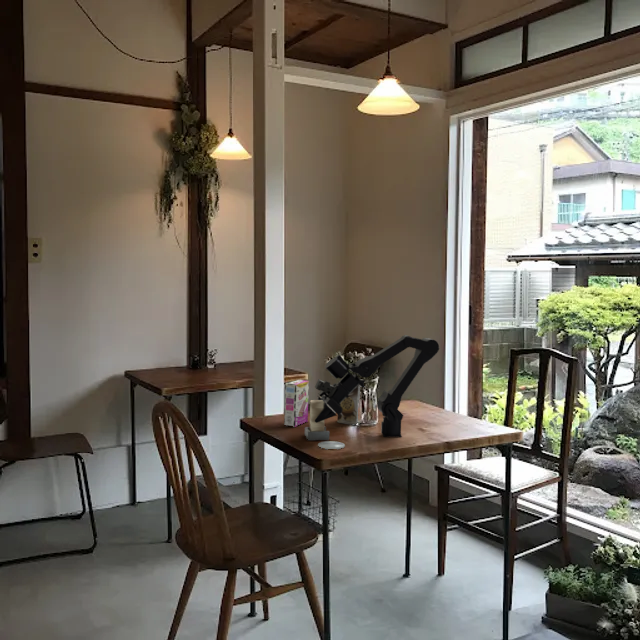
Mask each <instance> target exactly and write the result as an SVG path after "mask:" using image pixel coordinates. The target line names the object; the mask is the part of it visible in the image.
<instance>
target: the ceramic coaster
mask: <svg viewBox="0 0 640 640" xmlns="http://www.w3.org/2000/svg"><path fill="white" fill-rule="evenodd" d="M318 446H319V447H321V448H320V449H322V448H325V449H324V450H328V449H337V450H342V449H344V448H345V447H346V445H345V443H343V442H340V441H336V440H335V441H334V440H332V441H329V440H325V441H321V442H319V443H317V447H318ZM319 447H318V448H319ZM341 448H342V449H341Z"/></svg>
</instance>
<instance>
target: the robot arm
mask: <svg viewBox="0 0 640 640" xmlns="http://www.w3.org/2000/svg"><path fill="white" fill-rule="evenodd" d="M408 348H411V349H415V351H414V355H413V358H412V359H411V361H410V362H409V363H408V365H407V366H406V368H405V369H404V371H403V372H402V373H401V375H400V376H399V378H398V379H397V380H396V382H395V383H394V385H393V386H392V388H391V389H390V390H388V391H386V390H383V391H382V392H381V395H380V396H379V397H378V398H377V404H376V406H377V409H378V412H380V413H381V414H382V416H383V417H382V421H381V428H380V431H381V432H380V434H381V435H382V437H384V438H402V437H403V436H402V435H403V434H402V420H403V418H404V414H403V413H402V412H401V411H400V410H399V407H400V405H401V403H402V402H401V401H402V397H403V395H404V394H405V392H406V391H407V389H408V388H409V387H410V385H411V384H412V382H413V381H414V379H415V378H416V377H417V375H418V373H420V371H421V369H422V367H423V366H424V365H425V364H426V363H428V362H430V360H431V359H433V358H434V357H435V356H436V355H437V354H438V353H439V350H440V346H439V343H438V341H436V340H435V339H432V338H429V337H423V338H417V337H413V336H410V335H407V334H404V335H402V336H400V338H399V339H397V340H395V341H394V342H392V343H390V344H389V345H387V346H386V347H384V348H382V349H381V350H379V351H377V352H376V353H374V354H373V355H368V356H364V357H363V358H360V359H358V360H357V361H355V362H351V363H347V362H346V361H345V360H344V358H343V357H342V355H340V354H337V355H336V356H335V357H333V358H332V359H329V360H328V361H327V363H326V364H325V365H324V368H325V369H326V370H327V371H328V372H329V373H330V375H331V376H333V378H334V379H336V380H337V379H340V380H339V381H338V382H334V383H333V384H331V382H329V381H327V380H322V379H318V380H317V381H316V384H314V385H315V386H314V388H315V389H316V390H318V391H319V392H318V393H317V394H318V395H317V400H323V401H324V402H325V403H324V406H323V409H322V411H321V412H320V413H319V415H318V416H317V418H316V419H315V422H316V423H318V422H320V421H323V420H324V421H326V420H327V419H330V418H333V417H338V415H340V414H341V413H342V407H341V406H340V405H341V404H340V403H341V402H342V401H343V400H344V399H345V398H348V397H349V396H348V395H349V394H350V393H351V392H352V391H353V390H354V389H355V388H356V387H357V386H358V385H360V386H361V387H363V388H364V387H365V388H366V386H364V382H365V379H367V378H369V377H371V376H372V375H373V374H374V373H375V372H377V370H378V369H379V368H380V367H381V365H383V364H384V363H386V362H388V361H390V360H391V359H393V357H395V356H397V355H399V354H400V353H402V352H403V351H405V350H406V349H408ZM351 372H352V373H353V374H352V373H351ZM359 376H360V377H362V378H365V379H361V378H360V377H359ZM339 382H340V383H339Z"/></svg>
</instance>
